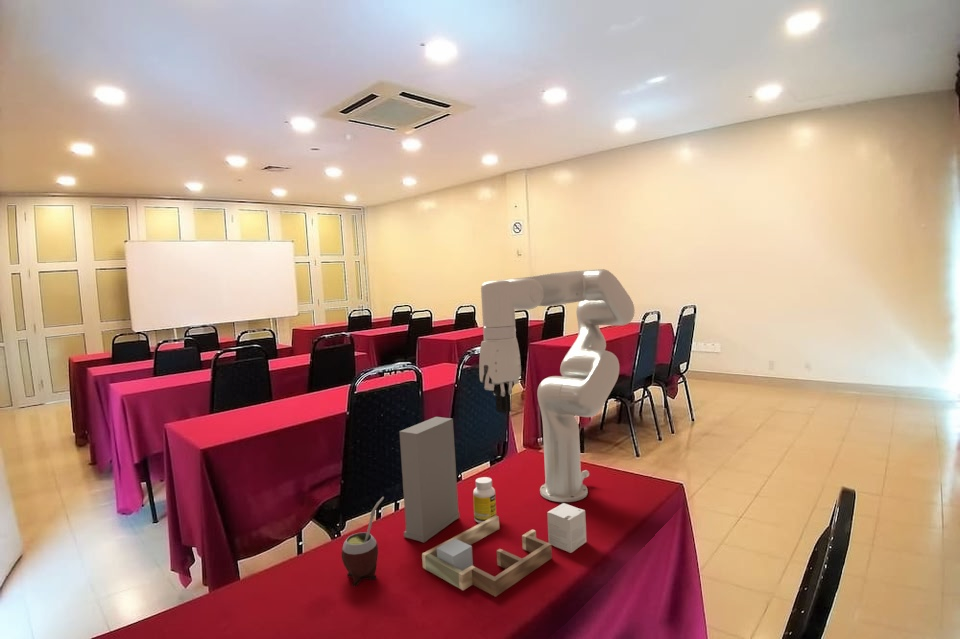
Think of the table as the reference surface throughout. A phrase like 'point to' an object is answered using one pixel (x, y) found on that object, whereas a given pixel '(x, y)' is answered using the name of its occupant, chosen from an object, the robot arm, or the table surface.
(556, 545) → the skincare box
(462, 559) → the block
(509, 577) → the box
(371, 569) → the mate gourd
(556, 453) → the robot arm
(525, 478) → the table surface
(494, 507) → the supplement bottle
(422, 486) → the tall upright grey box
